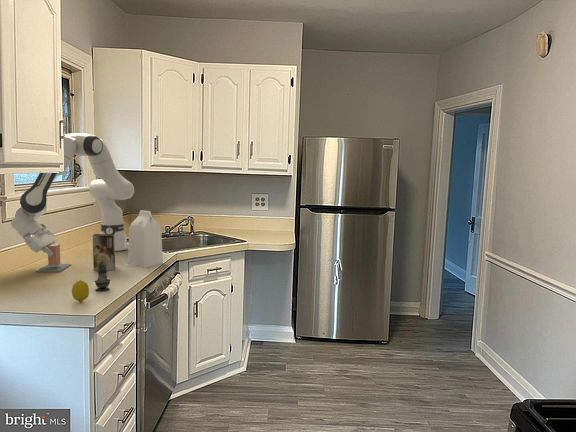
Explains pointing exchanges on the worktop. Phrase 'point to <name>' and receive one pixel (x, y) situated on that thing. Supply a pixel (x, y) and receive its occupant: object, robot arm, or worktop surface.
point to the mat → (54, 268)
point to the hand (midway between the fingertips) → (55, 253)
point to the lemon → (80, 291)
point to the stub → (55, 258)
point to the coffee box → (104, 250)
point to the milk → (145, 241)
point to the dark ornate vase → (102, 278)
